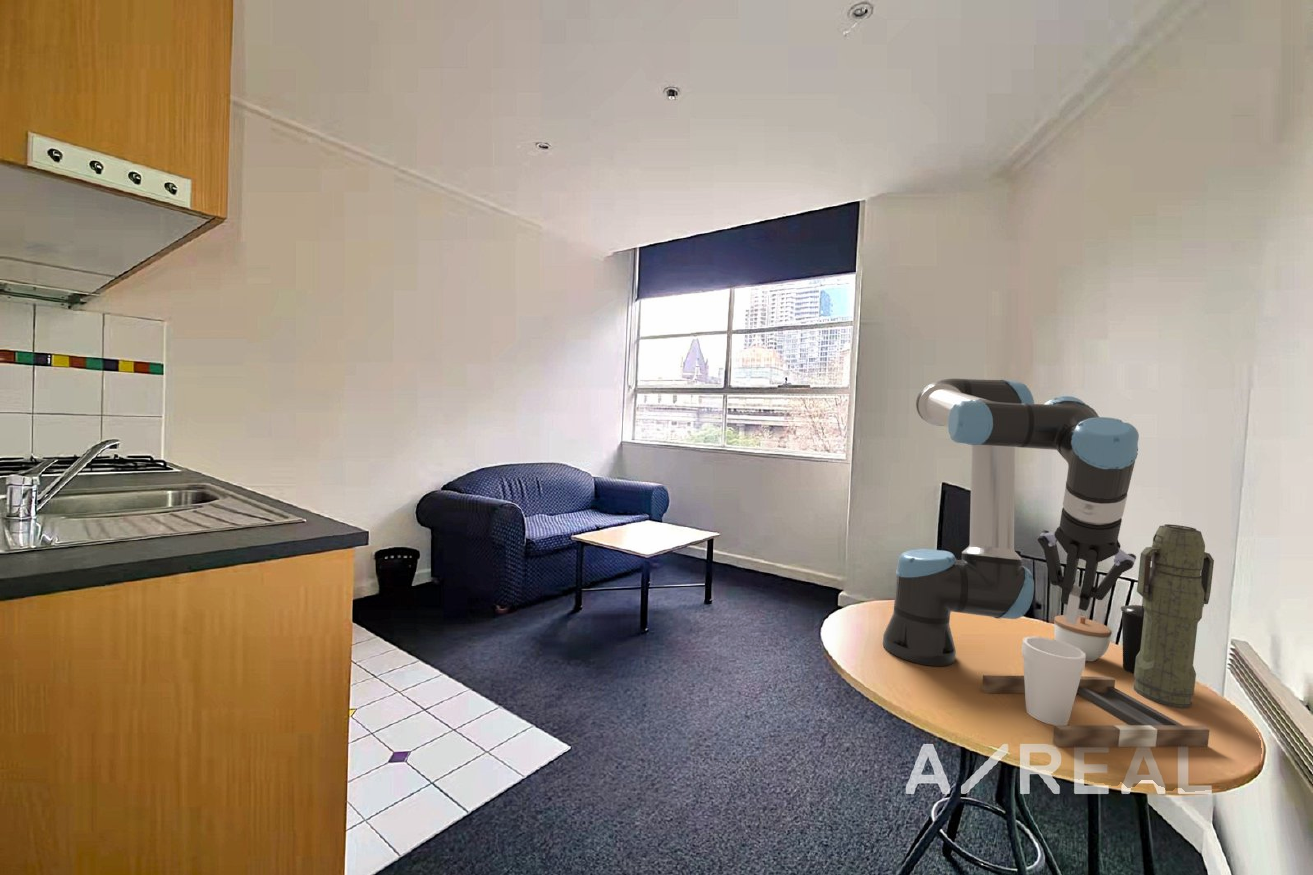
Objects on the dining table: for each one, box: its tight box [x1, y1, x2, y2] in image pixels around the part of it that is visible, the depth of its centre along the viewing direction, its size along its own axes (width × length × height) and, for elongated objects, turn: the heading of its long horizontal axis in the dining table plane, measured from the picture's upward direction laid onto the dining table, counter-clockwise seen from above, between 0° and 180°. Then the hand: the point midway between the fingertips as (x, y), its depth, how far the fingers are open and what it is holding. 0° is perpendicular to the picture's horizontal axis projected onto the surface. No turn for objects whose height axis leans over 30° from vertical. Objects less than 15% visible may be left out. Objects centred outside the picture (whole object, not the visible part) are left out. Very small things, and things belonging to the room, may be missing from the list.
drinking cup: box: [1120, 598, 1144, 675], centre depth 121 cm, size 8×8×20 cm
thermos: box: [1133, 523, 1215, 709], centre depth 110 cm, size 9×12×35 cm
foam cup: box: [1021, 635, 1086, 726], centre depth 100 cm, size 10×9×13 cm
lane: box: [981, 674, 1210, 748], centre depth 101 cm, size 28×18×3 cm, turn 96°
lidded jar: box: [1053, 614, 1113, 662], centre depth 129 cm, size 11×11×9 cm
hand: (1072, 618), depth 97 cm, fingers closed
